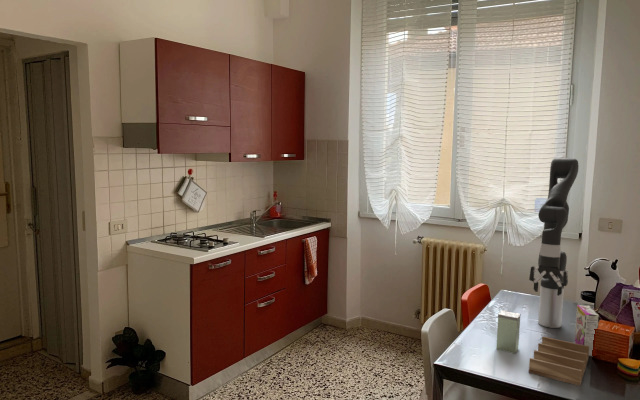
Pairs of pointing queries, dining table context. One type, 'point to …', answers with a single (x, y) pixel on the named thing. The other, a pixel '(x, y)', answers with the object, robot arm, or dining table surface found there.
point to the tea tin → (508, 331)
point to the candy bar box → (586, 326)
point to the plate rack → (560, 360)
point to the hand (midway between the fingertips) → (547, 293)
